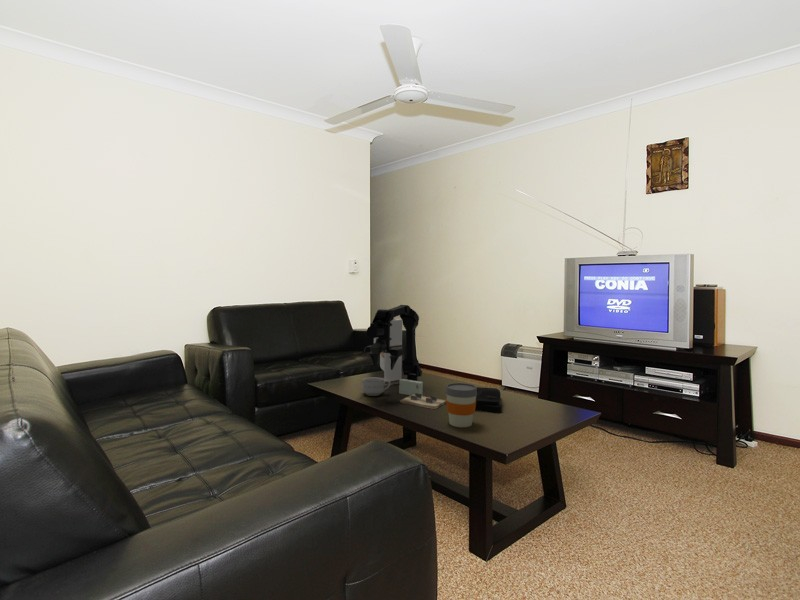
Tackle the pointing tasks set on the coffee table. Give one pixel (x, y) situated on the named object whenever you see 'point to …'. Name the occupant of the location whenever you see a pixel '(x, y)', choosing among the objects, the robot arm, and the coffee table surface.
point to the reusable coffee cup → (461, 403)
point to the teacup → (374, 386)
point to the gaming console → (488, 400)
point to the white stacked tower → (384, 357)
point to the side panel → (423, 401)
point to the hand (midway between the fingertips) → (383, 368)
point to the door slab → (410, 387)
